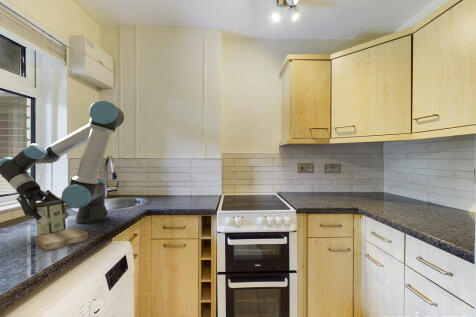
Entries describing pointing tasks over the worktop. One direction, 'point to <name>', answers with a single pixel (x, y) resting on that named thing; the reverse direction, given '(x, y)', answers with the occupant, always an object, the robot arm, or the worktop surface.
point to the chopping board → (60, 238)
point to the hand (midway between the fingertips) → (57, 219)
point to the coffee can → (51, 217)
